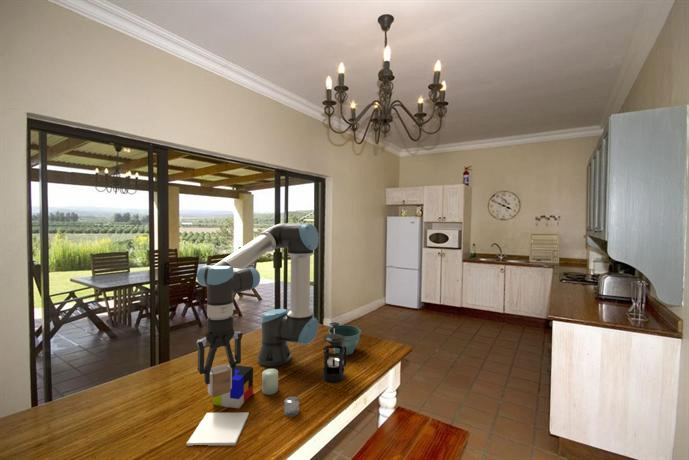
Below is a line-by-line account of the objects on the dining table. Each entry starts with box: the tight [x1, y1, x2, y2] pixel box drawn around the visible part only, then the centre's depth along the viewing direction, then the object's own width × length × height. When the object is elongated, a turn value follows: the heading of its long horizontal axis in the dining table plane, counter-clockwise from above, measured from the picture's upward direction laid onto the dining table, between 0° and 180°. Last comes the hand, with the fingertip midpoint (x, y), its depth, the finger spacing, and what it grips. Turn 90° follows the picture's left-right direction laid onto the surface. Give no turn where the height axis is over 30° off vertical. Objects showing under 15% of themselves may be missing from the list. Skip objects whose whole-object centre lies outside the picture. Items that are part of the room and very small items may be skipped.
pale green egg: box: [261, 368, 279, 396], centre depth 118 cm, size 6×6×7 cm
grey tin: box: [283, 396, 300, 418], centre depth 105 cm, size 5×5×4 cm
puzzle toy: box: [212, 363, 254, 409], centre depth 112 cm, size 10×10×10 cm
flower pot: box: [328, 324, 361, 356], centre depth 154 cm, size 16×16×11 cm
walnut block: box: [211, 363, 231, 398], centre depth 95 cm, size 5×5×7 cm
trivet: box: [186, 411, 250, 447], centre depth 96 cm, size 14×14×1 cm
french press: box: [321, 321, 347, 384], centre depth 129 cm, size 12×9×23 cm
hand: (219, 390), depth 95 cm, fingers closed on walnut block, 5 cm apart
